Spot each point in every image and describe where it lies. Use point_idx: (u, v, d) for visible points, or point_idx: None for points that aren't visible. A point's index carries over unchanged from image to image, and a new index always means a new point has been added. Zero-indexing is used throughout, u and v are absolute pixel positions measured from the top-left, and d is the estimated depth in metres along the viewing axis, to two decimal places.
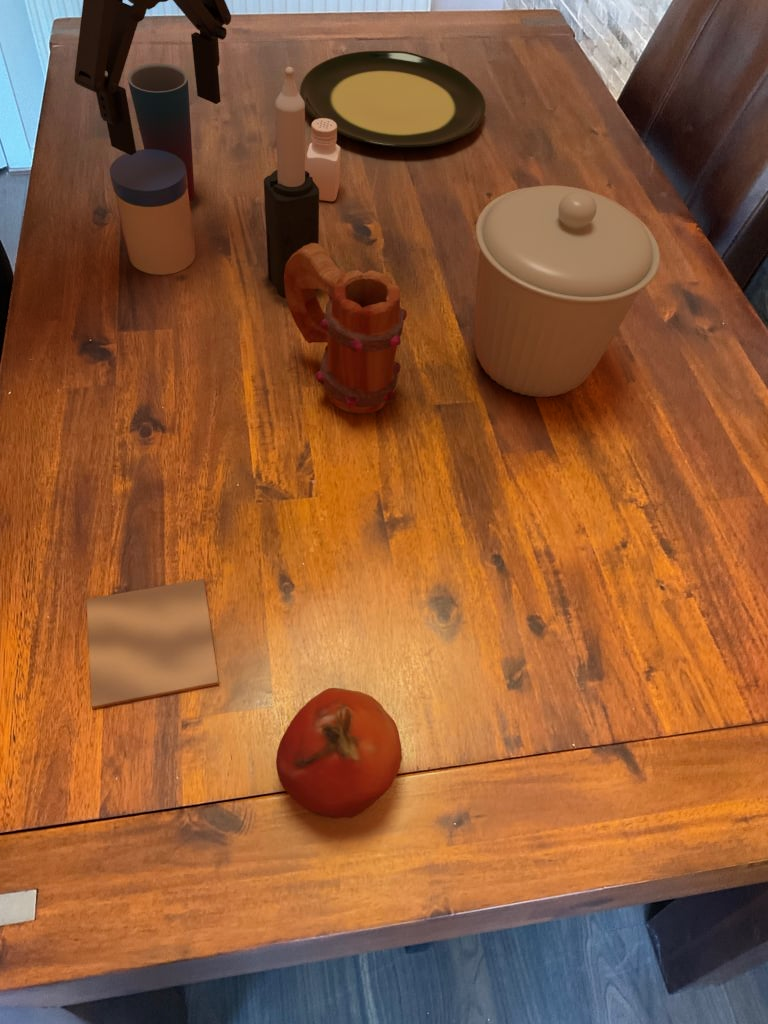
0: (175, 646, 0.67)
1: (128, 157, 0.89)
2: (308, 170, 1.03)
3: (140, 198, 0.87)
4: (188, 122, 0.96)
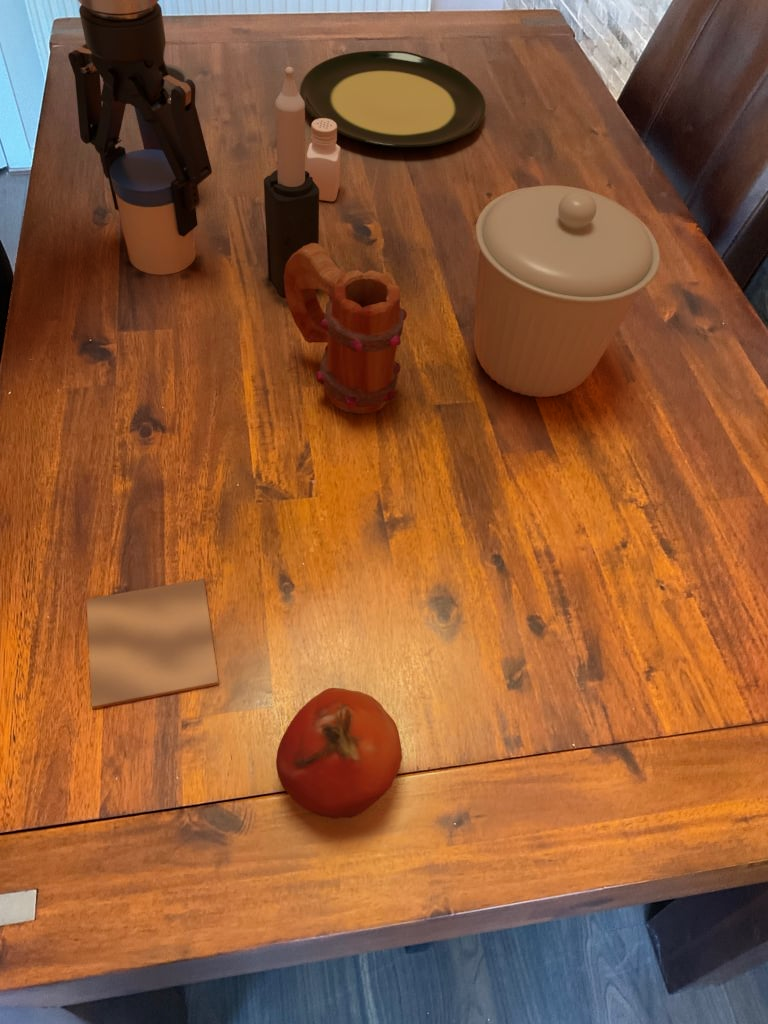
0: (175, 646, 0.67)
1: (128, 157, 0.89)
2: (308, 170, 1.03)
3: (140, 198, 0.87)
4: None
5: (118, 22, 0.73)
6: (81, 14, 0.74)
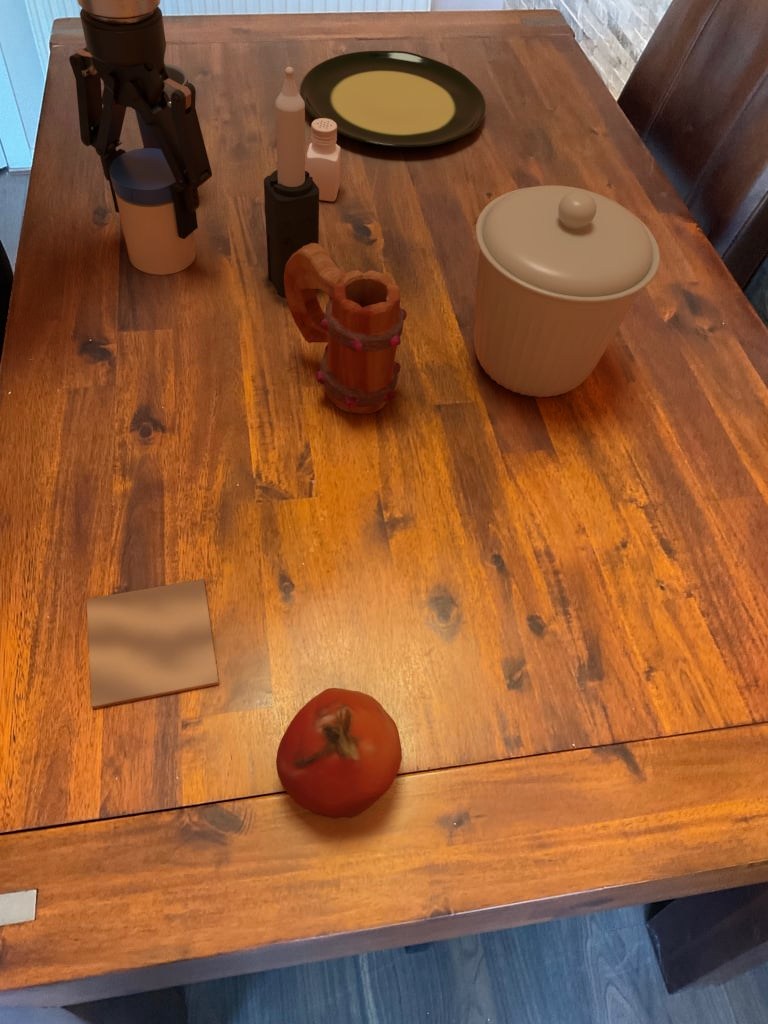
0: (175, 646, 0.67)
1: (128, 181, 0.87)
2: (308, 170, 1.03)
3: None
4: None
5: (118, 25, 0.74)
6: (82, 18, 0.75)
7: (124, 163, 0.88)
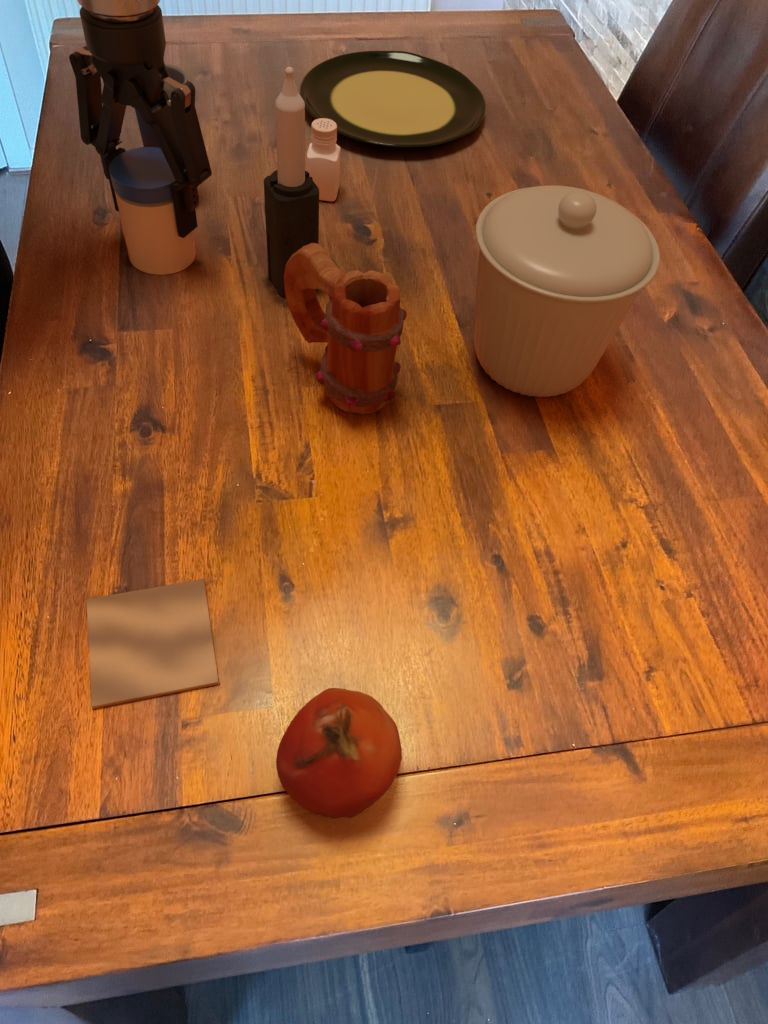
0: (175, 646, 0.67)
1: None
2: (308, 170, 1.03)
3: None
4: None
5: (117, 24, 0.73)
6: (81, 16, 0.74)
7: (141, 180, 0.87)
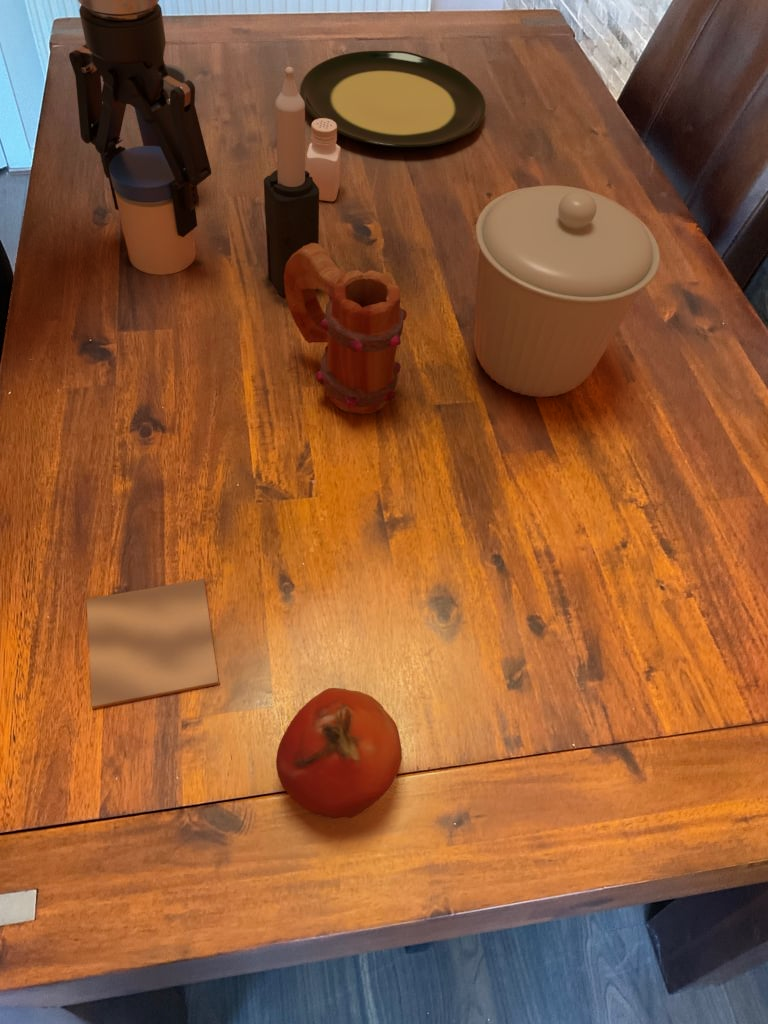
0: (175, 646, 0.67)
1: (158, 150, 0.90)
2: (308, 170, 1.03)
3: None
4: None
5: (117, 22, 0.73)
6: (81, 14, 0.74)
7: None
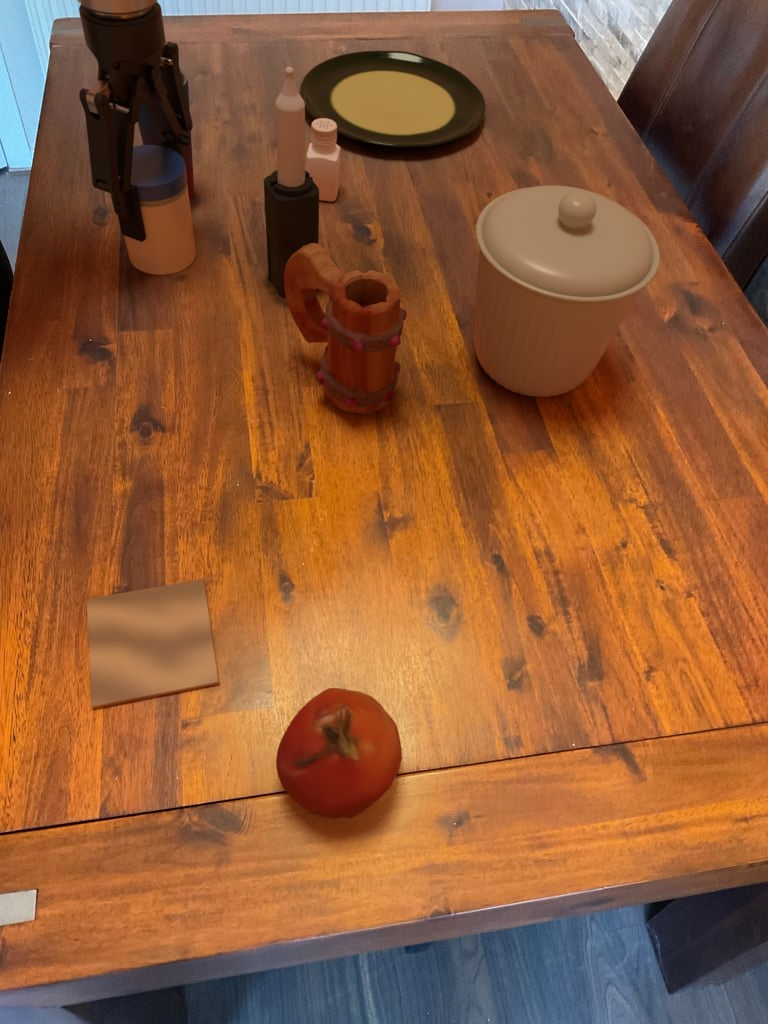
0: (175, 646, 0.67)
1: None
2: (308, 170, 1.03)
3: (160, 193, 0.87)
4: None
5: (155, 5, 0.76)
6: (133, 26, 0.74)
7: (147, 151, 0.90)
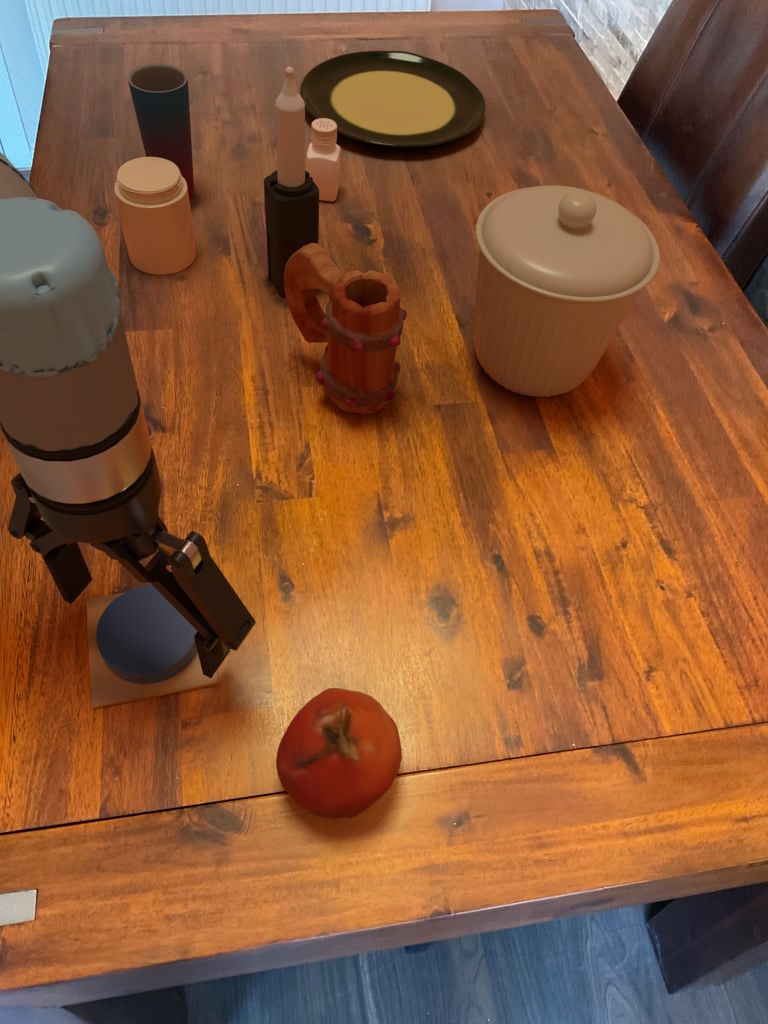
0: None
1: (132, 663, 0.64)
2: (308, 170, 1.03)
3: None
4: (188, 122, 0.96)
5: None
6: (150, 448, 0.50)
7: (113, 630, 0.65)
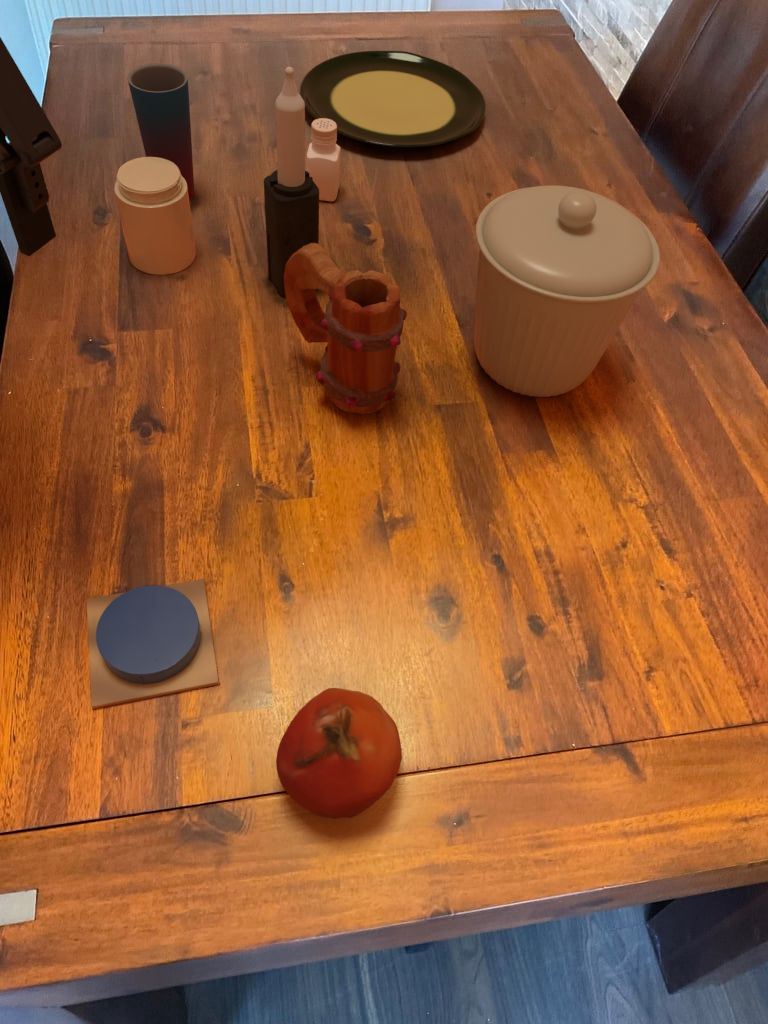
0: None
1: (132, 663, 0.64)
2: (308, 170, 1.03)
3: None
4: (188, 122, 0.96)
5: None
6: None
7: (113, 630, 0.65)
